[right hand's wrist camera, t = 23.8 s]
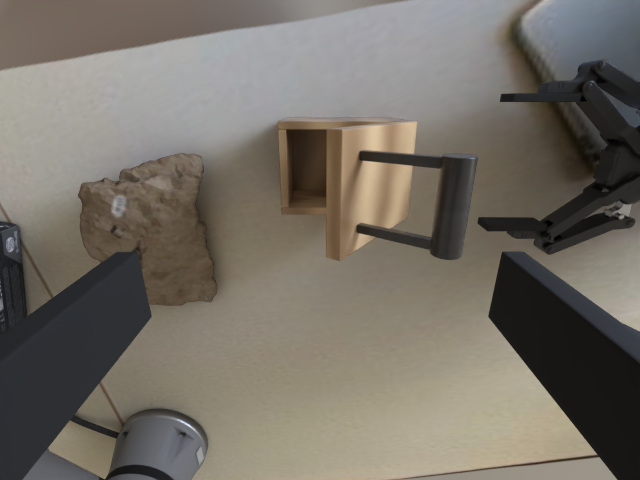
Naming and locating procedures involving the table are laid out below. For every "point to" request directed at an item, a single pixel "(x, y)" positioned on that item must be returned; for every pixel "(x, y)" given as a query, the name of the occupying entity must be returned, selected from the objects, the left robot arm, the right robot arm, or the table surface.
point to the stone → (153, 227)
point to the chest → (308, 160)
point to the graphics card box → (11, 278)
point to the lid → (390, 190)
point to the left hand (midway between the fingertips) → (493, 165)
